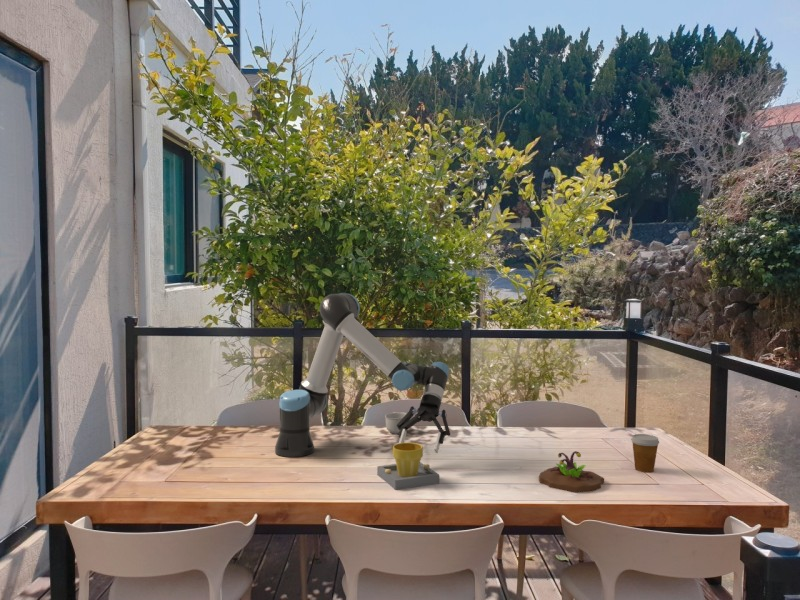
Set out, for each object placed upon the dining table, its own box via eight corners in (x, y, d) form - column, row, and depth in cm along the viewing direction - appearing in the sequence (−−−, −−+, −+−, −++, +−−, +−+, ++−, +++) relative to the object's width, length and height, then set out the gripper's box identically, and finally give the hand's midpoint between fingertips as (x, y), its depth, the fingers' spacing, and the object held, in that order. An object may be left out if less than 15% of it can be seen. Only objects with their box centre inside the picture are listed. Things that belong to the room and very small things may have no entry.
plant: (582, 498, 194) (583, 463, 193) (530, 482, 208) (530, 450, 207) (612, 483, 208) (613, 450, 207) (561, 470, 222) (562, 439, 221)
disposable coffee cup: (657, 467, 225) (658, 435, 224) (659, 475, 216) (660, 441, 215) (629, 464, 228) (630, 432, 227) (630, 472, 219) (631, 439, 218)
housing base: (394, 489, 198) (394, 477, 198) (376, 474, 213) (376, 463, 213) (439, 483, 205) (439, 471, 205) (419, 469, 220) (419, 458, 220)
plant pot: (388, 477, 206) (388, 448, 206) (398, 468, 216) (398, 440, 215) (417, 481, 203) (417, 451, 202) (426, 471, 212) (426, 443, 212)
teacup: (409, 435, 266) (409, 417, 265) (384, 435, 266) (384, 417, 266) (409, 427, 280) (409, 410, 279) (385, 427, 280) (385, 410, 280)
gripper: (465, 407, 230) (453, 458, 217) (403, 401, 239) (388, 449, 226) (461, 396, 225) (449, 447, 211) (398, 390, 234) (383, 439, 221)
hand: (417, 448), depth 219 cm, fingers open, 13 cm apart
